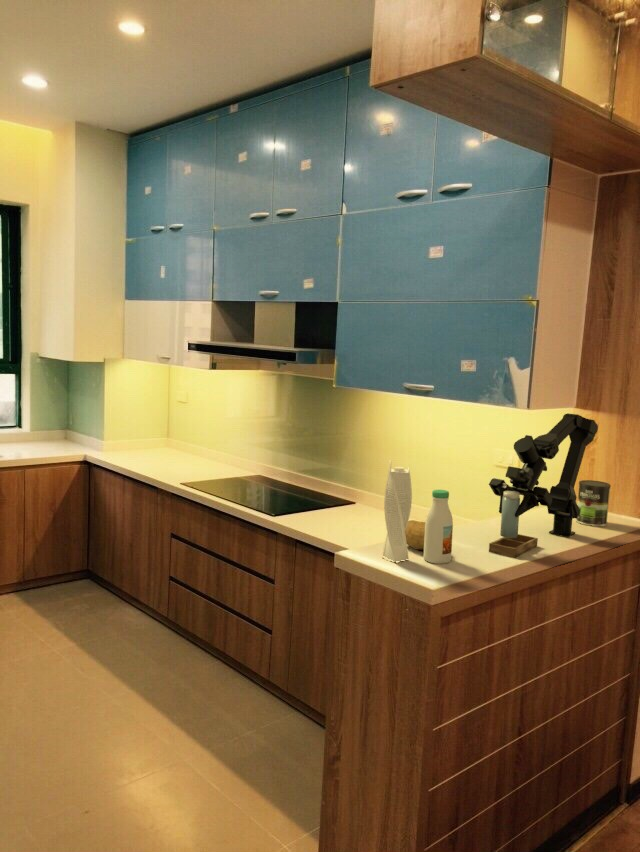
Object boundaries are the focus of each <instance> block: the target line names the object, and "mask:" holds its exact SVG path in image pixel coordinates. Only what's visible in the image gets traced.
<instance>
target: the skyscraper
mask: <svg viewBox="0 0 640 852" xmlns="http://www.w3.org/2000/svg"><path fill="white" fill-rule="evenodd" d="M388 462H389V463H388V465H389V466H388V467H389V468H388V473H387V478H386V482H385V489H384V503H383V504H384V510H383V511H384V521H385V526H386V536H385V540H384V541H385V542H384V546H383V551H382V555H383V556H385V557H387V558H388V559H391V560H393V561H394V562H396V561H401V560H406V559H409V551H408V545H407V542H406V535H405V530H406V527H407V524H408V521H410V515H411V512H412V511H411V509H412V504H413V503H412V500H413V491H412V490H413V489H412V479H411V478H412V477H411V469H410V467H409V466H408V467H407V469H406V468H405V467H404V466H394V467H393V468H392V460H391V459H390V460H389V461H388ZM409 560H410V559H409Z"/></svg>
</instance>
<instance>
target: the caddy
mask: <svg viewBox="0 0 640 852" xmlns="http://www.w3.org/2000/svg"><path fill="white" fill-rule="evenodd" d="M488 545H489V546H488V553H492V554H496V555H500V556H505V557H510V558H514V559H515V558H517V557H519V556H521V555H524V554H525V553H528V552H529V551H531V550H533V549H535V548H538V537H535V536H530V535H529V536H528V535H525V534H521V533H518V537H516V538H507V537H503V536H502V537H501V538H497V539H496V540H494V541H492V542H490V543H489V544H488Z"/></svg>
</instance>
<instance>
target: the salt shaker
mask: <svg viewBox="0 0 640 852" xmlns="http://www.w3.org/2000/svg"><path fill="white" fill-rule="evenodd" d="M520 504H521V496H520V493H519V492H516V491H504V493H503V498H502V513H501V520H500V533H499V534H500V536H501V537H502V538H503V537H507V538H516V537H518V534H519V525H520V523H519V520H520V516H518V517H516V516H515V513H516V511H517V509H518V507H519V505H520Z"/></svg>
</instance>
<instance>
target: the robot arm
mask: <svg viewBox="0 0 640 852" xmlns="http://www.w3.org/2000/svg"><path fill="white" fill-rule="evenodd" d="M598 429H599V425H598V423H597V422H596V420H595V419H591V418H586V417H584V416H582V415H579V414H578V413H577V414H575V413H564V414H563V415H562V418H561V419H560V420H559V421H558V422H557V423H556V424H555V425H554V426H553V427H552V428H551V429H550V430H549V431H548V432H547V433H545V434H541V435H538V436H536V437H535V438H534V437H533V435H528V434H526V435H524V437H521V438H519V439H518V440H517V441H515V442H513V443H514V444H513V450H514V452H515V453H516V456H517V457H518V459H519V460H520V462H521V463H522V464H523V465H522V467H521V468H520V467H515V466H510V465H509V466H508V467H507V470H506V473H505V478H508V479H509V483H510V484H512V485H509V484H507V482H506V481H505V479H501V478H497V477H496V478H495V477H494V478H491V479H490V481H489V483H488V485H489V487H490V489H491V490H492V492H493V494H494V495H495V496H497V497H500V500H499V507H498V513H499V514H502V498H503V493H504V491H516V492H519V493H520V495H521V496H523V497H522V500H521V501H520V505H519V507H518V509H517V511H516V513H515V516H516V517H518V516H519V517H520V516H522V515H523V514H524V513H526V512H528V511H529V510H531V509H534V508H535V507H539V506H545V507H547V514H549V515H553V523H552V525H553V527H552V530H549V531H548V534H550V533H551V534H552V535H556V536H560V535H562V537H565V536H566V537H565V538H569V537H571V536H573V535H574V534H576V531H572V529H573V519H576V518H578V517H579V513H580V509H579V507H578V502H577V499H578V496H577V493H576V490H575V486H576V482H577V478H578V475H579V473H580V469H581V465H582V461H583V458H584V454H585V451H586V447H587V446H588V445H590V444H591V443H592V442H593V441H594V440H595V439H594V438H595V437H596V434H597V433H598V431H599V430H598ZM568 436H569V440H570V444H569V447H568V450H567V454H566V457H565V461H564V464H563V468H562V470H561V474H560V478H559V482H558V483H557V484H556V485H552V486H551V487H550V489H548V488H546V487H543V486H542V487H541V486H539V483H540V482H539V481H538V480H539V478H540V477H541V475H542V473H543V472H547V471H548V466H547V463H546V461H545V460H544V459H547V460H553V459H554V458H555V457H556V455H558V453H559V451H560V445H561V443H562V442H563V441H564V440H565V439H566V438H568ZM551 534H550V535H551Z"/></svg>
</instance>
